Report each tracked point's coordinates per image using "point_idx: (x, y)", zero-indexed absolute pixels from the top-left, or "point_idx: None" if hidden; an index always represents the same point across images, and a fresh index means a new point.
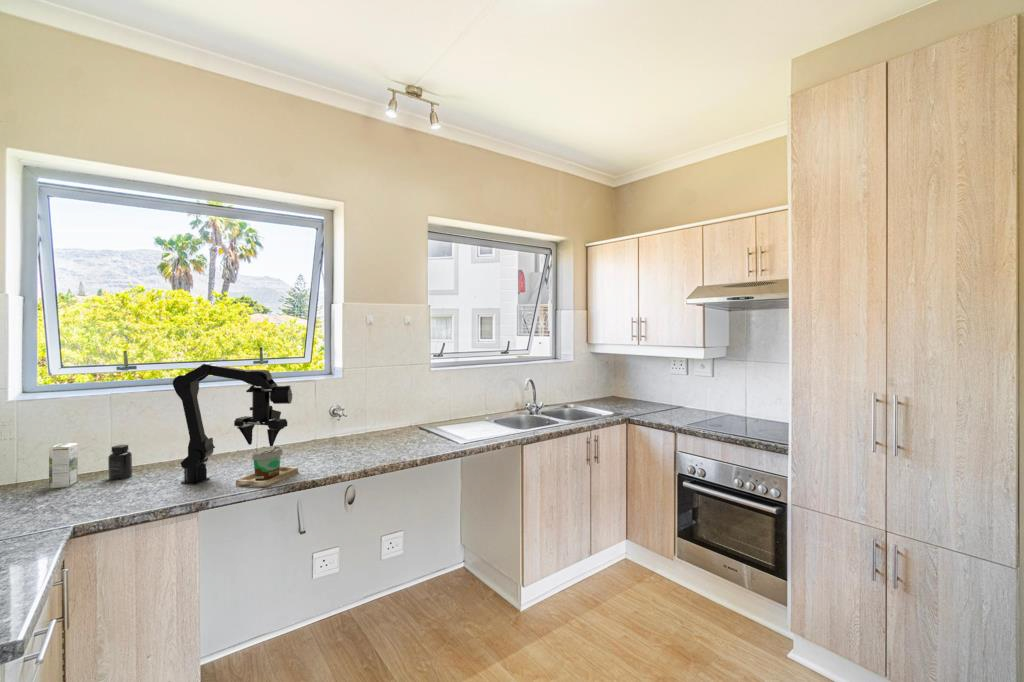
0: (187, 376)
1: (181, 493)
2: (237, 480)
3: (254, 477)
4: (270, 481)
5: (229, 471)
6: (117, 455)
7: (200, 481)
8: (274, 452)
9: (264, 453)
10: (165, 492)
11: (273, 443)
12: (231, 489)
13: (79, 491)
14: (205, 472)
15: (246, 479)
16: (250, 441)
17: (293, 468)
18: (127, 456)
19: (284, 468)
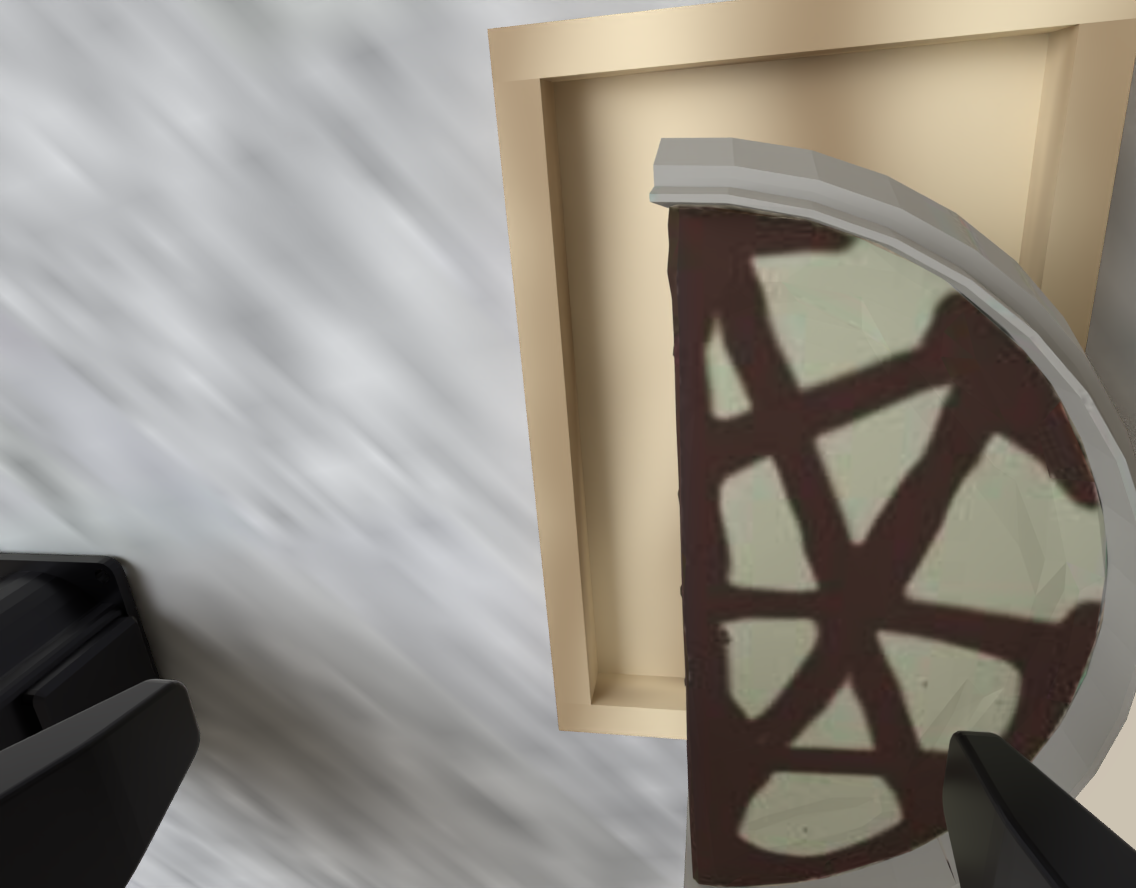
0: None
1: (289, 880)
2: (584, 731)
3: (583, 460)
4: None
5: (8, 254)
6: None
7: (152, 677)
8: (1099, 738)
9: (773, 709)
10: (153, 869)
11: (1060, 805)
12: (620, 772)
13: None
14: (81, 683)
15: (590, 598)
16: (132, 786)
17: (1057, 28)
18: None
19: (828, 51)
